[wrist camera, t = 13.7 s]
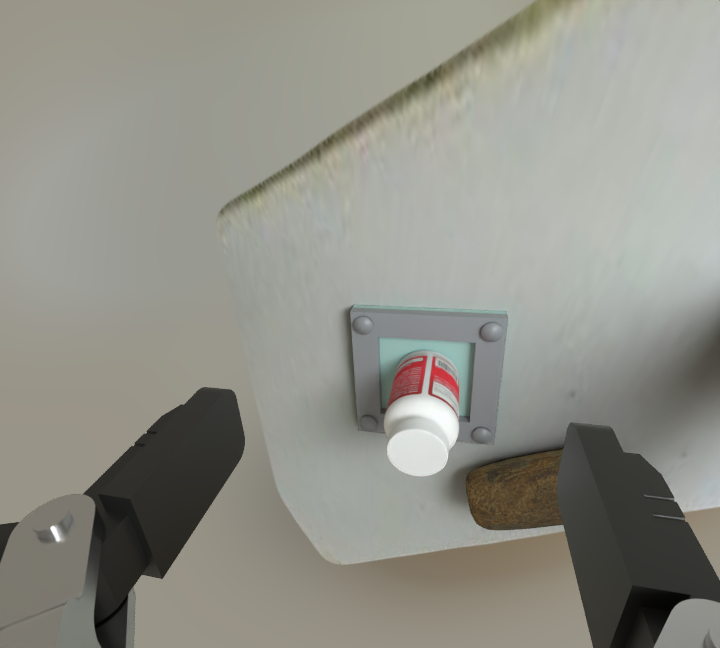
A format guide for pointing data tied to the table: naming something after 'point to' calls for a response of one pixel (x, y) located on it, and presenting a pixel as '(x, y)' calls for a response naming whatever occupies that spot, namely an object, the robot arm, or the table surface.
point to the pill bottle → (422, 413)
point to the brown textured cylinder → (516, 492)
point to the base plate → (435, 333)
